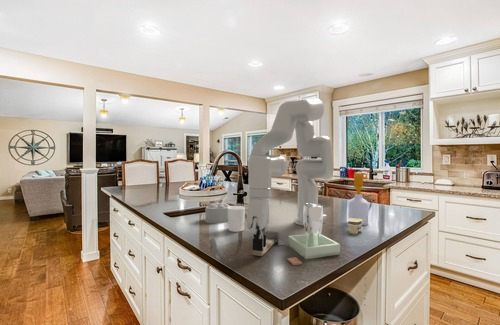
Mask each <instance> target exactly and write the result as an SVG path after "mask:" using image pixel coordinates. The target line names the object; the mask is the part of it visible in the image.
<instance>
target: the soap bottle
mask: <svg viewBox="0 0 500 325" xmlns="http://www.w3.org/2000/svg"><path fill="white" fill-rule="evenodd" d="M353 179H354V180H353V188H354V189H355V190H356V192H354V197H353V198H351V199H350V200H348V207H347V208H348V212H347V213H348V214H347V219H348V218H357V219H362V220H363V221H361V222H363V224H362V226H367V225H369V202H368V201H367V200H366V199H365V198H363V193H362V192H361V191H362V189H364V173H362V172H361V173H356V172H355V173H354V174H353Z"/></svg>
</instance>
